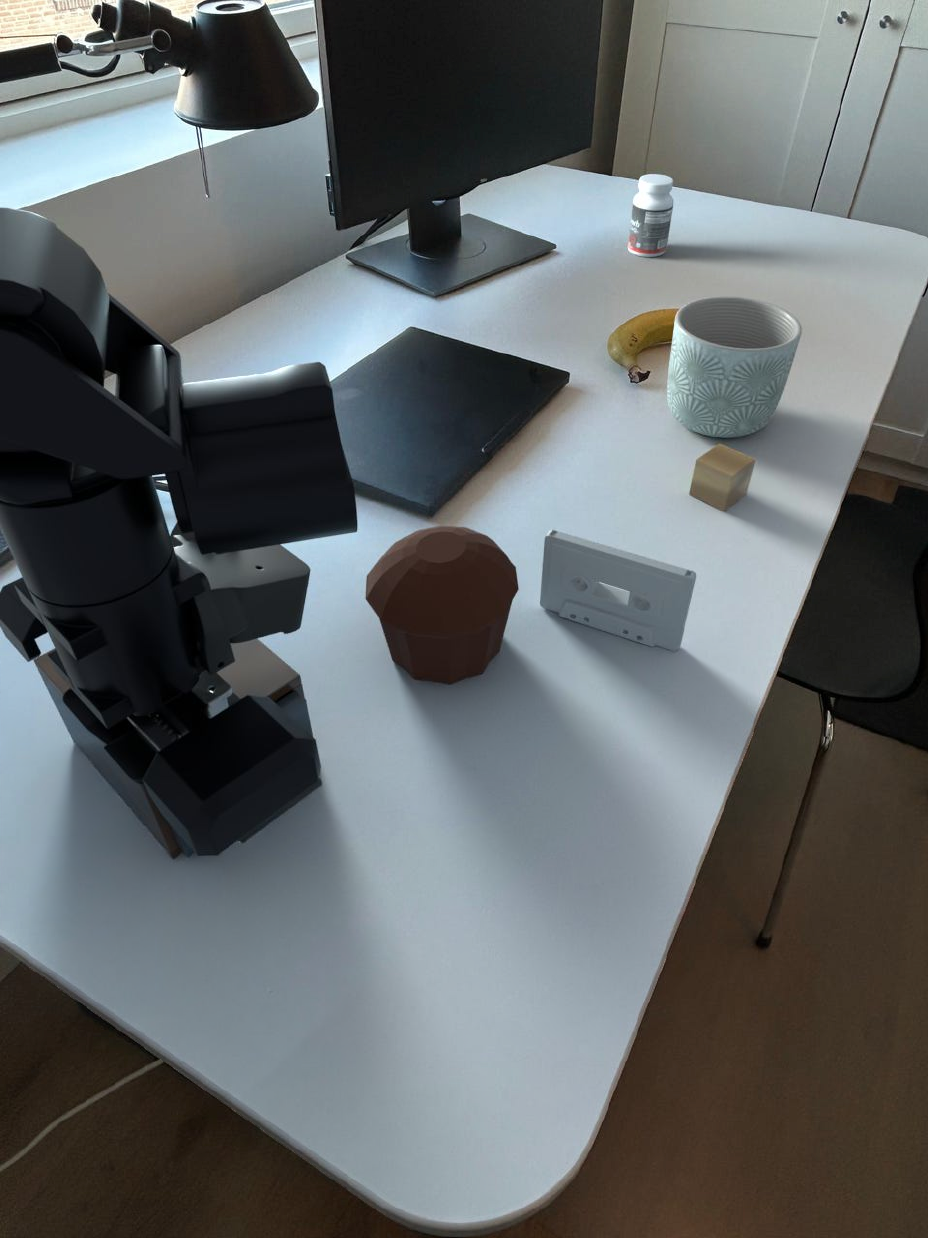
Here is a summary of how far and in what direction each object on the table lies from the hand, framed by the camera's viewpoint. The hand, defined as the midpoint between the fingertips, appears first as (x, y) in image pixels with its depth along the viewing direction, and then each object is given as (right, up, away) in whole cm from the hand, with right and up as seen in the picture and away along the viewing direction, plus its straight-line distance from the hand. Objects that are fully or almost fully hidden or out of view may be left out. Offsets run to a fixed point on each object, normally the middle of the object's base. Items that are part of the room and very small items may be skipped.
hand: (186, 790), depth 46 cm
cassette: (+26, +8, +26) cm, 38 cm away
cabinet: (-5, 0, +17) cm, 18 cm away
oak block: (+39, +21, +39) cm, 59 cm away
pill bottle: (+41, +63, +84) cm, 113 cm away
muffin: (+13, +7, +25) cm, 29 cm away
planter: (+42, +31, +50) cm, 72 cm away
